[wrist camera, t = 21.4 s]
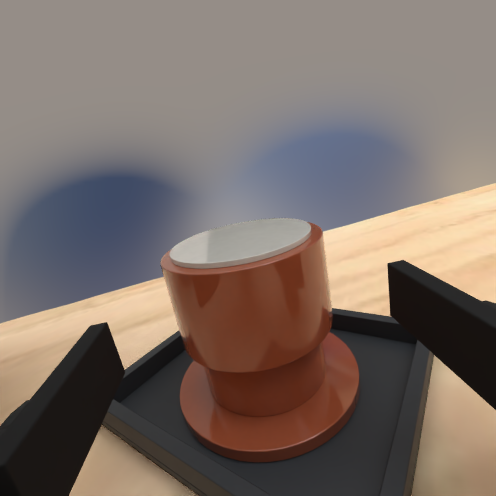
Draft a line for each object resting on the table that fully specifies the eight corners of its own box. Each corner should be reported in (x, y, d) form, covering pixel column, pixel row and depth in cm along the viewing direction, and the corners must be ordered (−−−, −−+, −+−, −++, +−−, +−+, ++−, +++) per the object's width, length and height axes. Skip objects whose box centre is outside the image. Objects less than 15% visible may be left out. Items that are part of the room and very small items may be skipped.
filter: (401, 434, 15) (391, 241, 12) (167, 486, 15) (100, 301, 12) (322, 314, 27) (307, 202, 24) (192, 341, 27) (161, 232, 24)
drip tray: (96, 420, 21) (86, 397, 20) (233, 309, 32) (229, 292, 32) (388, 635, 9) (384, 596, 9) (435, 347, 21) (435, 322, 21)
